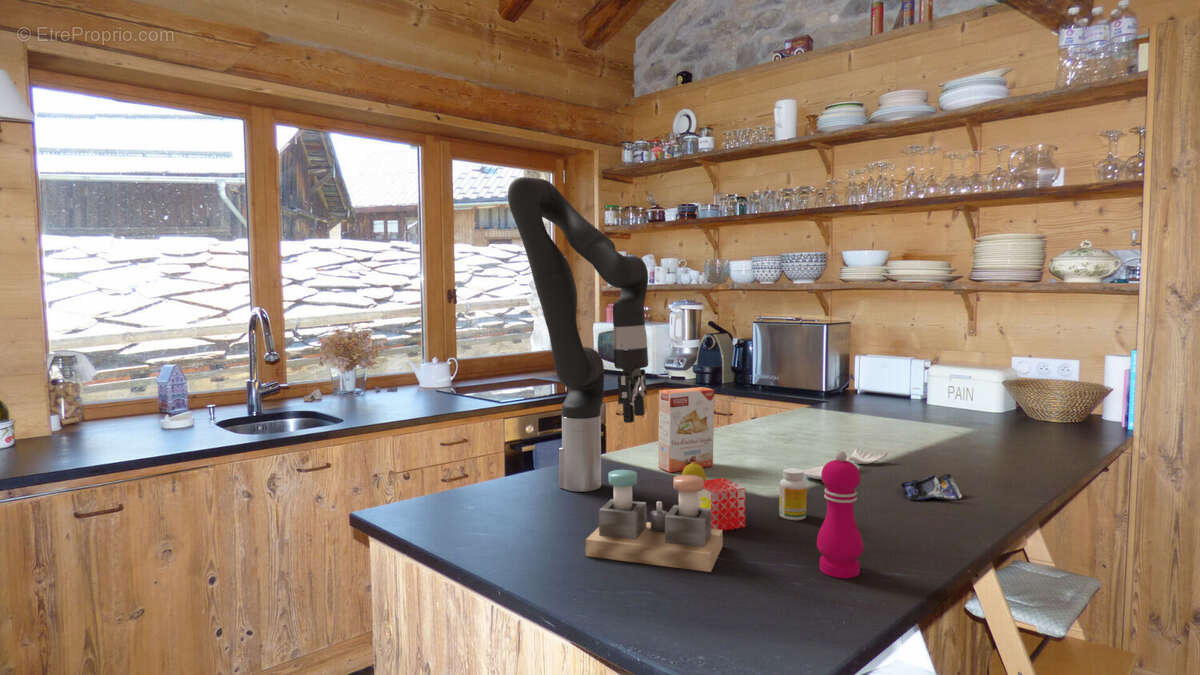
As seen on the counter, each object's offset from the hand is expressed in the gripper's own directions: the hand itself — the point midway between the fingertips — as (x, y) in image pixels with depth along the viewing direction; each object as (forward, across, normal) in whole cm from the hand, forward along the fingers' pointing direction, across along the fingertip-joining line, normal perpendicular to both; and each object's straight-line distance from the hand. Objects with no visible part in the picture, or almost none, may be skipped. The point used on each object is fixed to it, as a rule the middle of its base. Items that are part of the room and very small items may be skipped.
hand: (634, 418), depth 151 cm
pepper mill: (+20, +28, +42) cm, 55 cm away
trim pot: (+16, +26, +11) cm, 32 cm away
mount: (+19, +29, +11) cm, 36 cm away
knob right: (+12, +29, +17) cm, 36 cm away
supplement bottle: (+20, +2, +33) cm, 39 cm away
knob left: (+11, +29, +5) cm, 31 cm away
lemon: (+19, -5, +11) cm, 23 cm away
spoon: (+21, -39, +44) cm, 62 cm away
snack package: (+22, -21, +61) cm, 68 cm away
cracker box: (+19, -30, +5) cm, 36 cm away
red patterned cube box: (+20, +11, +19) cm, 29 cm away
